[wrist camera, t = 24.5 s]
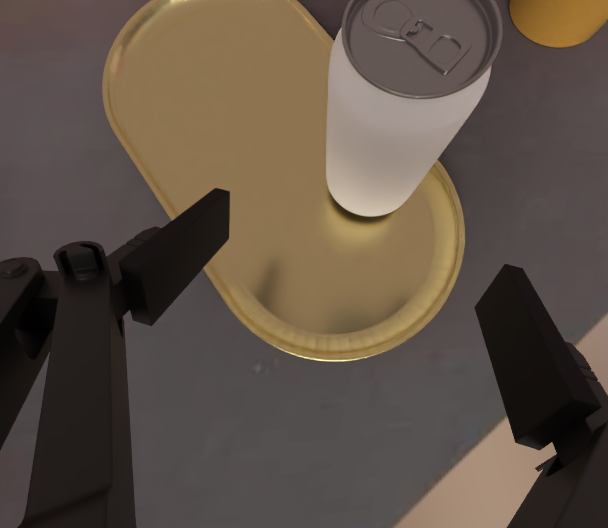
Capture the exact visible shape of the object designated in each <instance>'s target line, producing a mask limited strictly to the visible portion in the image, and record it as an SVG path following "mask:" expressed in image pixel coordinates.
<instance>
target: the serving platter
mask: <svg viewBox="0 0 608 528" xmlns="http://www.w3.org/2000/svg"><path fill="white" fill-rule="evenodd" d="M333 43H334V40H333V39H332V38H331V37H330V36H329V35H328V34H327V32H326V31H325V30H324V29H323V28H322V27H321V26H320V24H319V23H318V22H317V21H316V20H315V19H314V18H313V16H312V15H311V14H310V13H309V12H308V11H307V10H306V9H305V7H303V6H302V5H301V4H300V3H299V2H298V1H297V0H151V1H149V2H148V3H147V4H145V5H144V6H143V7H142V8H141V9H139V10H138V11H137V12H136V13H135V14H134V15H133V16H132V17H131V18H130V20H129V21H128V22H127V23H126V24H125V26H124V27H123V28H122V30H121V31H120V32H119V34H118V36H117V37H116V39H115V41H114V43H113V45H112V47H111V49H110V52H109V54H108V57H107V60H106V64H105V67H104V73H103V81H102V95H103V103H104V108H105V112H106V115H107V118H108V121H109V123H110V126H111V128H112V129H113V131H114V133H115V135H116V136H117V138H118V139H119V141H120V143H121V144H122V146H123V147H124V149H125V150H126V152H127V153H128V155H129V156H130V158H131V159H132V161H133V162H134V164H135V165H136V167H137V169H138V170H139V172H140V173H141V175H142V176H143V178H144V179H145V181H146V182H147V184H148V185H149V187H150V188H151V190H152V191H153V193H154V195H155V196H156V198H157V199H158V201H159V202H160V204H161V205H162V207H163V208H164V210H165V211H166V213H167V214H168V216H169V217H170V219H171V221H172V220H174V219H175V218H176V217H177V216H179V215H180V214H181V213H183V212H184V211H185V210H187V209H188V208H189V207H191V206H192V205H193V204H195V203H196V202H197V201H199V200H200V199H201V198H202V197H204V196H205V195H206V194H208V193H209V192H210V191H212V190H213V189H214V188H219V189H223V190H227V191H230V225H229V239H228V241H227V242H226V243H225V244H224V245H223V246H222V247H221V248H220V250H219V251H218V252H217V253H216V254H215V255H214V256H213V257H212V259H211V260H210V261H209V262H208V263H207V264H206V265H205V266H204V268H203V269H204V271H205V273H206V274H207V276H208V277H209V279H210V280H211V282H212V283H213V285H214V286H215V288H216V289H217V291H218V292H219V294H220V295H221V297H222V299H223V300H224V302H225V303H226V305H227V306H228V307H229V309H230V310H231V311H232V313H233V314H234V315H235V316H236V317H237V319H238V320H239V321H240V322H241V323H242V324H243V325H244V326H245V327H246V328H248V329H249V330H250V331H251V332H252V333H253V334H255V335H256V336H258V337H259V338H260V339H262V340H263V341H265V342H267V343H268V344H270V345H272V346H274V347H275V348H278V349H280V350H282V351H284V352H287V353H289V354H292V355H296V356H299V357H302V358H307V359H312V360H319V361H333V362H341V361H353V360H358V359H364V358H368V357H372V356H375V355H378V354H381V353H384V352H386V351H389V350H391V349H393V348H395V347H397V346H399V345H401V344H403V343H404V342H406V341H407V340H409V339H410V338H412V337H413V336H415V335H416V334H417V333H418V332H419V331H421V330H422V329H423V328H424V327H425V326H426V325H427V324H428V323H429V322H430V321H431V320H432V319H433V318H434V317H435V316H436V315H437V313H438V312H439V311H440V310H441V308H442V307H443V305H444V304H445V302H446V301H447V299H448V298H449V296H450V294H451V292H452V290H453V288H454V286H455V283H456V281H457V278H458V276H459V273H460V269H461V265H462V261H463V255H464V249H465V223H464V217H463V211H462V207H461V203H460V199H459V197H458V194H457V191H456V189H455V186H454V184H453V182H452V180H451V178H450V176H449V175H448V173H447V172H446V170H445V168H444V167H443V165H442V164H441V163H440V161H439V160H438V159H437V161H436V162H435V163H434V165H433V166H432V167H431V169H430V170H429V171H428V173H427V174H426V175H425V177H424V178H423V179H422V181H421V182H420V184H419V185H418V186H417V188H416V189H415V190H414V192H413V193H412V194H411V195H410V197H409V198H408V199H407V200H406V201H405V202H404V203H403V204H402V205H401V206H400V207H399V208H397V209H396V210H394V211H392V212H390V213H388V214H385V215H381V216H373V217H370V216H361V215H357V214H354V213H352V212H350V211H348V210H346V209H345V208H343V207H342V206H341V205H340V204H338V202H337V201H336V200H335V199H334V198H333V196H332V195H331V193H330V191H329V188H328V185H327V180H326V138H327V102H328V75H329V62H330V55H331V50H332V46H333Z"/></svg>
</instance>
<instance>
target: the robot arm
mask: <svg viewBox="0 0 608 528" xmlns="http://www.w3.org/2000/svg"><path fill="white" fill-rule="evenodd" d="M229 225H230V191H227V190H223V189H219V188H214V189H213V190H212V191H210V192H209V193H208V194H206V195H205V196H204V197H202V198H201V199H200V200H199V201H197V202H196V203H195V204H193V205H192V206H191V207H189V208H188V209H187V210H185V211H184V212H183V213H181V214H180V215H179V216H177V217H176V218H175V219H174V220H172V221H171V222H170V223H168V224H167V225H166V226H164V227H163V228H159V227H153V228H150V229H147V230H144V231H142V232H141V233H139V234H138V235H137V236H135V237H134V239H131V240H130V241H128V242H127V243H126V244H124V245H123V246H121V247H120V248H118V249H117V250H116V251H114V252H113V253H111V254H110V255H109V256H107V257H106V256H105V252H104V249H103V247H102V246H101V245H100V244H98V243H95V242H91V241H80V242H74V243H70V244H67V245H65V246H62V247H61V248H59V249H58V250H57V251H56V252H55V254H54V255H53V257H54V259H55V262H56V264H57V267H58V269H59V271H42V269H41V266H40V264H39V262H38V261H37V260H35V259H33V258H26V257H20V258H12V259H7V260H4V261H2V262H0V450H1V448H2V446H3V444H4V442H5V440H6V438H7V436H8V434H9V432H10V430H11V428H12V426H13V424H14V422H15V420H16V418H17V416H18V414H19V412H20V410H21V408H22V406H23V404H24V402H25V400H26V398H27V396H28V394H29V392H30V390H31V388H32V386H33V384H34V382H35V380H36V378H37V376H38V374H39V372H40V370H41V368H42V366H43V364H44V362H45V360H46V358H47V356H48V354H49V352H50V355H49V362H48V369H47V375H46V382H45V388H44V395H43V401H42V408H41V414H40V421H39V428H38V434H37V441H36V447H35V454H34V460H33V467H32V473H31V480H30V487H29V493H28V500H27V506H26V511H25V516H24V519H23V521H22V523H21V524H20V525H19V526H18V527H17V528H136V519H135V503H134V485H133V468H132V450H131V433H130V416H129V398H128V381H127V363H126V346H125V329H124V320H123V316H124V315H125V314H126V313H127V312H128V311H129V310H130V311H131V315H132V319H133V320H134V321H137V322H140V323H143V324H146V325H149V326H152V325H153V324H154V323H155V322H156V321H157V319H158V318H159V317H160V316H161V315H162V314H163V313H164V312H165V310H166V309H167V308H168V307H169V306H170V305H171V304H172V303H173V301H174V300H175V299H176V298H177V297H178V296H179V295H180V294H181V292H182V291H183V290H184V289H185V288H186V287H187V286H188V285H189V283H190V282H191V281H192V280H193V279H194V278H195V277H196V276H197V274H198V273H199V272H200V271H201V270H202V269H203V268H204V266H205V265H206V264H207V263H208V262H209V261H210V260H211V259H212V257H213V256H214V255H215V254H216V253H217V252H218V251H219V250H220V248H221V247H222V246H223V245H224V244H225V243H226V242H227V241H228V239H229ZM475 310H476V314H477V317H478V320H479V324H480V327H481V330H482V333H483V337H484V340H485V343H486V347H487V350H488V353H489V357H490V360H491V363H492V367H493V370H494V373H495V376H496V380H497V383H498V386H499V390H500V393H501V396H502V400H503V403H504V406H505V410H506V413H507V416H508V419H509V423H510V426H511V429H512V433H513V436H514V439H515V442H516V443H518V444H522V445H525V446H528V447H531V448H534V449H537V450H541V449H542V448H544V447H545V446H547V445H548V444H550V443H551V442H553V445H554V447H555V450H556V452H557V454H556V455H555V456H553V457H552V458H550V459H548V460H547V461H546V462H544V463H542V464H541V465H539V466H538V467H536V468H535V469H536V470H537V471H538V472H539V471H540V470H542V469H543V471H542V472H541V474H540V475H539V477H538V478H537V480H536V482H535V483H534V485H533V487H532V488H531V490H530V491H529V493H528V494H527V496H526V498H525V499H524V501H523V503H522V504H521V506H520V507H519V509H518V511H517V512H516V514H515V515H514V517H513V519H512V520H511V522H510V524H509V525H508V527H507V528H608V395H607V394H606V392H605V391H604V389H603V387H602V386H601V384H600V383H599V382H597V380H598V379H597V377H596V376H595V374H594V372H592V371H591V368H590V366H589V364H588V363H587V361H586V359H585V358H584V356H583V355H582V354H581V353H580V352H579V351H578V350H577V349H576V348H575V347H574V346H573V345H572V344H571V343H568V342H565V341H564V340H563V338H562V336H561V334H560V333H559V331H558V329H557V327H556V326H555V324H554V322H553V321H552V319H551V317H550V315H549V314H548V312H547V310H546V308H545V307H544V305H543V303H542V301H541V300H540V298H539V296H538V294H537V293H536V291H535V289H534V288H533V286H532V284H531V282H530V281H529V279H528V277H527V275H526V274H525V272H524V270H523V268H519V267H515V266H511V265H507V264H504V266H503V267H502V269H501V270H500V272H499V273H498V274H497V276H496V277H495V279H494V280H493V282H492V283H491V285H490V286H489V287H488V289H487V290H486V292H485V293H484V295H483V296H482V297H481V299H480V300H479V302H478V303H477V305H476V306H475Z"/></svg>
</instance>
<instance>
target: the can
mask: <svg viewBox="0 0 608 528" xmlns="http://www.w3.org/2000/svg"><path fill="white" fill-rule="evenodd" d="M502 34H503V25H502V18H501V14H500V11H499V8H498V5H497V3H496V1H495V0H349V2H348V4H347V6H346V9H345V12H344V15H343V19H342V26H341V29H340V30H339V32H338V34H337V36H336V39H335V41H334V43H333V46H332V50H331V55H330V62H329V75H328V102H327V138H326V180H327V185H328V188H329V191H330V193H331V195H332V196H333V198H334V199H335V200H336V201H337V202H338V204H340V205H341V206H342V207H343V208H345V209H346V210H348V211H350V212H352V213H354V214H357V215H361V216H370V217H373V216H381V215H385V214H388V213H390V212H392V211H394V210H396V209H397V208H399V207H400V206H401V205H402V204H403V203H404V202H405V201H406V200H407V199H408V198H409V197H410V195H411V194H412V193H413V192H414V190H415V189H416V188H417V186H418V185H419V184H420V182H421V181H422V179H423V178H424V177H425V175H426V174H427V173H428V171H429V170H430V169H431V167H432V166H433V165H434V163H435V162H436V161H437V159H438V158H439V157H440V155H441V154H442V152H443V151H444V150H445V148H446V147H447V146H448V144H449V143H450V142H451V140H452V139H453V137H454V136H455V135H456V133H457V132H458V131H459V129H460V128H461V126H462V125H463V124H464V122H465V121H466V120H467V118H468V117H469V115H470V114H471V112H472V111H473V110H474V108H475V107H476V105H477V104H478V102H479V100H480V99H481V97H482V95H483V93H484V91H485V89H486V87H487V84H488V81H489V77H490V72H491V65H492V63H493V61H494V60H495V58H496V56H497V54H498V51H499V49H500V45H501V41H502Z"/></svg>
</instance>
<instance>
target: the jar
mask: <svg viewBox="0 0 608 528" xmlns="http://www.w3.org/2000/svg"><path fill="white" fill-rule="evenodd" d="M509 10H510V15H511V18H512V21H513V23H514V25H515V26H516V28H517V29H518V30H519V31H520V32H521V33H522V34H523V35H524V36H526V37H527V38H528V39H530V40H532V41H533V42H536V43H538V44H541V45H544V46H549V47H557V48H562V47H571V46H575V45H578V44H580V43H583V42H585V41H586V40H588V39H590V38H591V37H592V36H593V35H594V34H596V33H597V32H598V30H599V29H600V28H601V27H602V26H603V25H604V24H605V23H606V22H607V21H608V0H510V4H509Z"/></svg>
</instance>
